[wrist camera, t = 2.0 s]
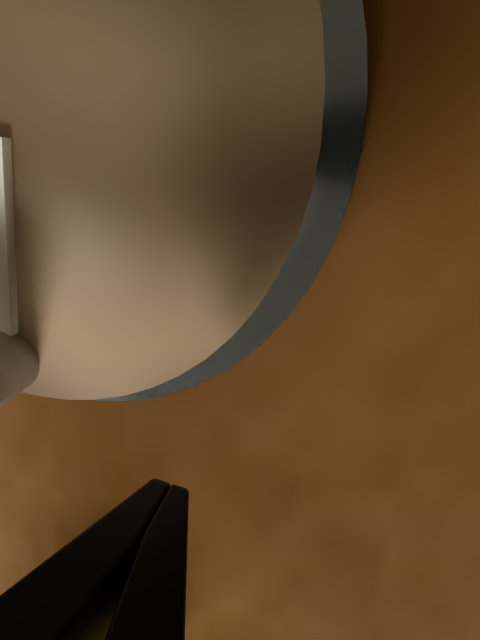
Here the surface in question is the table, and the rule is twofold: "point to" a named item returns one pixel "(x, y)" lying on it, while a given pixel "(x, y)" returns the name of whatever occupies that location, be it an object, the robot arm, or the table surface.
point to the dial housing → (325, 200)
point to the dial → (147, 181)
